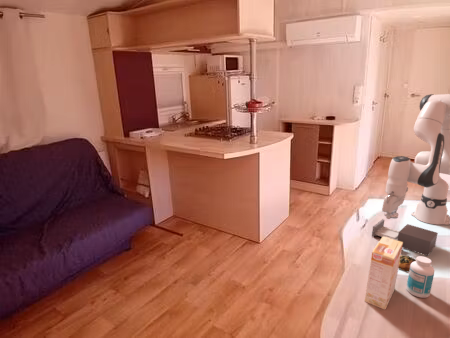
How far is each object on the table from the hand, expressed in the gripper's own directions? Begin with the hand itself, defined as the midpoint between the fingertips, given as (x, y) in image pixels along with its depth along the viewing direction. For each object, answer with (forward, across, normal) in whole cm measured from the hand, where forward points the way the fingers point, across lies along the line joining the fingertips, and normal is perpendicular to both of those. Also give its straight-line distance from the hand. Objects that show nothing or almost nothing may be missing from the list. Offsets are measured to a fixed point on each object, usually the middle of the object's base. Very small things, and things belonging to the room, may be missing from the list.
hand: (391, 216), depth 153 cm
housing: (+11, 0, -12) cm, 17 cm away
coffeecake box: (+12, -51, -14) cm, 54 cm away
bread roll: (+12, -22, -15) cm, 29 cm away
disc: (0, 0, 0) cm, 0 cm away
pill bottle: (+12, -39, -23) cm, 47 cm away
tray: (+11, 0, -1) cm, 11 cm away
